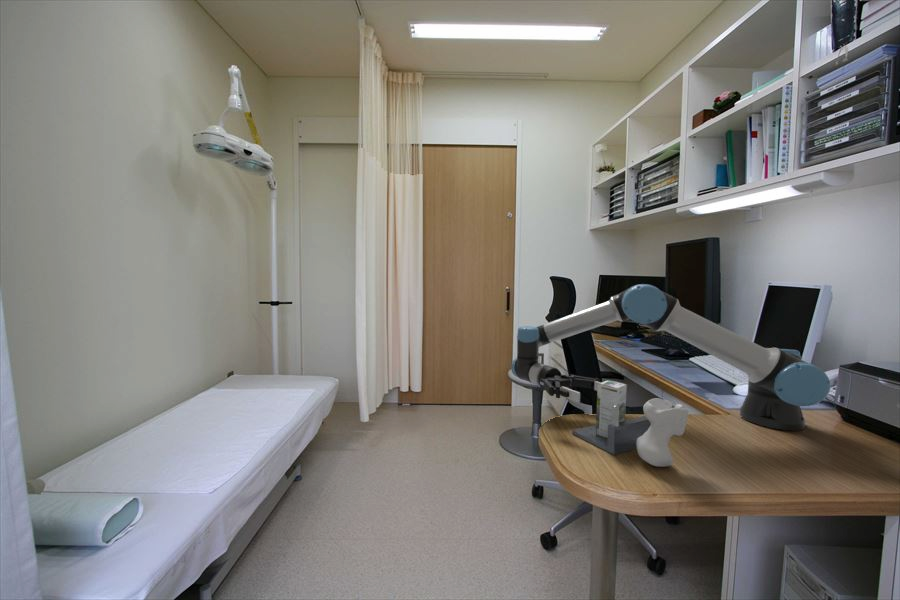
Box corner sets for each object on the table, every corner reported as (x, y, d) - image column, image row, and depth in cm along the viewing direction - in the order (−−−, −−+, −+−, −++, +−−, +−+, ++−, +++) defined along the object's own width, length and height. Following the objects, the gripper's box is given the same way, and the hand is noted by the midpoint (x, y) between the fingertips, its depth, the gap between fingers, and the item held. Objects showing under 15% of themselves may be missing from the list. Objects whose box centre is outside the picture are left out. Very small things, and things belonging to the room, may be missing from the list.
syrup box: (604, 429, 104) (605, 379, 103) (625, 435, 99) (627, 383, 99) (595, 434, 100) (596, 383, 99) (617, 441, 96) (618, 387, 95)
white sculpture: (628, 455, 90) (629, 396, 89) (671, 454, 91) (673, 395, 90) (652, 476, 80) (654, 410, 80) (700, 474, 81) (703, 409, 80)
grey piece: (607, 425, 109) (608, 386, 108) (650, 444, 96) (651, 400, 96) (572, 433, 103) (573, 392, 102) (613, 455, 90) (615, 408, 90)
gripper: (572, 383, 128) (625, 401, 109) (515, 392, 116) (563, 414, 97) (573, 362, 127) (626, 376, 108) (515, 369, 116) (564, 386, 97)
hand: (596, 394), depth 103 cm, fingers open, 13 cm apart
